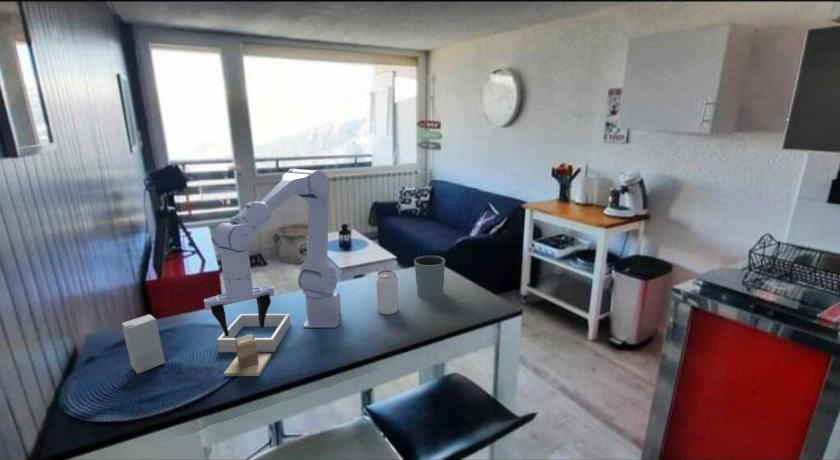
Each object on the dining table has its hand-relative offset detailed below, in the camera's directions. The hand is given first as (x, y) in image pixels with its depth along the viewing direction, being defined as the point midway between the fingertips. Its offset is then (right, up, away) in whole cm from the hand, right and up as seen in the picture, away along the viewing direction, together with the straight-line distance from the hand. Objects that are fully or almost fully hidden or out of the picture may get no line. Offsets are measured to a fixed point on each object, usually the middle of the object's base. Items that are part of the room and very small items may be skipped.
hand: (244, 330), depth 97 cm
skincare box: (-24, -9, +2) cm, 26 cm away
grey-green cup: (+44, +2, +42) cm, 61 cm away
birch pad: (0, -9, +2) cm, 9 cm away
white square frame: (-3, -6, +15) cm, 16 cm away
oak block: (0, -8, +2) cm, 9 cm away
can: (+31, -1, +30) cm, 43 cm away
